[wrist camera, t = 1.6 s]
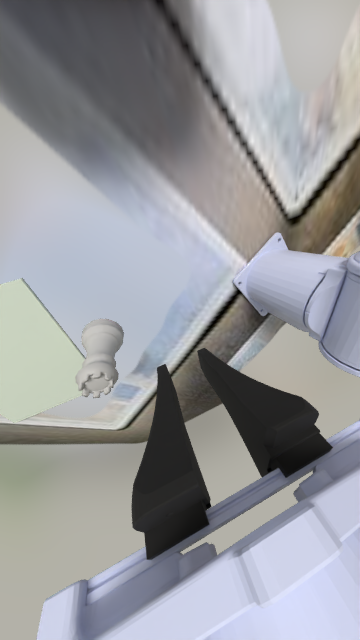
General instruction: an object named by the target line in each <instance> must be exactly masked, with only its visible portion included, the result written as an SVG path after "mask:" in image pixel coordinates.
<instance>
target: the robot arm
mask: <svg viewBox="0 0 360 640" xmlns="http://www.w3.org/2000/svg"><path fill="white" fill-rule="evenodd" d="M278 239H279V240H278ZM239 282H240V283H239ZM233 283H234V284H235V286H236V287H237V288H238V289H239V290H240V291H241V293H242V294H243V295H244V296H245V297H246V298H247V300H248V301H249V302H250V303H251V304H252V305H253V307H254V308H255V309H256V310H257V311H258V312H259V314H260V315H262V316H265V315H266V314H267V313H268V312H269V313H271V314H272V315H274V316H276V317H278V318H279V319H281V320H283V321H285V322H287V323H288V324H290V325H292V326H294V327H296V328H297V329H299V330H302V331H305V332H309V336H311V337H312V338H314V339H316V340H318V341H319V349H320V352H321V353H322V354H323V356H324V357H325V358H326V359H327V360H328V361H330V362H331V363H332V364H333V365H335V366H336V367H338V368H340V369H342V370H343V371H345V372H347V373H350V374H352V375H355V376H357V377H360V251H359V252H357V253H355V254H353V255H351V256H350V257H349V258H344V257H336V256H328V255H320V254H313V253H305V252H297V251H289V250H288V248H287V246H286V244H285V242H284V240H283V238H282V236H281V234H280V233H275V234H274V235H273V236H272V237H271V238H270V239H269V241H268V242H267V243H266V244H265V245H264V246H263V247H262V248H261V249H260V251H259V252H258V253H257V254H256V255H255V256H254V257H253V258H252V259H251V261H250V262H249V263H248V264H247V265H246V266H245V267H244V268H243V270H242V271H241V272H240V273H239V274H238V275H237V276H236V277H235V278H234V280H233ZM238 283H239V284H238ZM197 352H198V356H199V361H200V365H201V369H202V370H203V372H204V374H205V376H206V378H207V380H208V381H209V383H210V384H211V386H212V387H213V389H214V390H215V392H216V393H217V395H218V396H219V398H220V399H221V401H222V402H223V404H224V406H225V407H226V409H227V411H228V413H229V414H230V416H231V418H232V420H233V422H234V424H235V425H236V427H237V429H238V431H239V433H240V435H241V437H242V439H243V441H244V443H245V445H246V447H247V449H248V451H249V452H250V455H251V457H252V458H253V461H254V462H255V465H256V467H257V469H258V471H259V473H260V475H261V476H262V478H260V479H259V480H257V481H255V482H254V483H252V484H250V485H249V486H247V487H245V488H243V489H242V490H240V491H239V492H237V493H235V494H233V495H232V496H230V497H228V498H226V499H225V500H223V501H221V502H220V503H218V504H216V505H215V506H213V507H211V504H210V497H209V494H208V491H207V488H206V485H205V482H204V480H203V477H202V474H201V471H200V468H199V465H198V462H197V459H196V457H195V454H194V451H193V448H192V445H191V442H190V439H189V436H188V433H187V431H186V427H185V424H184V420H183V416H182V412H181V409H180V405H179V401H178V397H177V393H176V390H175V387H174V385H173V382H172V379H171V377H170V374H169V372H168V369H167V367H166V364H164V365H162V366H160V367H158V368H157V373H158V385H157V397H156V405H155V412H154V417H153V422H152V426H151V431H150V435H149V438H148V442H147V445H146V449H145V452H144V455H143V458H142V462H141V464H140V467H139V470H138V473H137V476H136V478H135V481H134V485H133V494H132V521H133V522H132V524H133V528H134V529H135V530H137V531H140V532H144V533H145V545H146V546H145V547H143V548H142V549H140V550H138V551H137V552H135V553H133V554H132V555H130V556H128V557H126V558H125V559H123V560H121V561H120V562H118V563H116V564H114V565H113V566H111V567H109V568H108V569H106V570H105V571H103V572H101V573H99V574H98V575H96V576H94V577H92V578H91V579H89V580H80V581H78V582H75V583H73V584H71V585H69V586H68V587H66V588H64V589H63V590H61V591H59V592H57V593H56V594H54V595H52V596H50V597H49V598H47V599H46V600H45V602H44V605H43V609H42V614H41V619H40V624H39V629H38V634H37V639H36V640H360V420H359V421H357V422H355V423H354V424H352V425H350V426H349V427H347V428H345V429H343V430H342V431H340V432H338V433H337V434H335V435H333V436H332V437H330V438H328V439H327V440H325V439H324V437H323V436H322V435H321V434H320V433H319V432H320V430H319V429H318V428H317V427H316V426H315V425H314V424H315V422H316V420H317V418H318V416H319V413H318V411H317V410H316V409H315V408H314V407H313V406H312V405H311V404H310V403H308V402H307V401H306V400H305V399H303V398H302V397H299V396H296V395H293V394H290V393H287V392H284V391H281V390H278V389H275V388H273V387H270V386H268V385H265V384H263V383H261V382H258V381H256V380H254V379H252V378H250V377H248V376H246V375H244V374H242V373H240V372H239V371H237V370H235V369H234V368H232V367H230V366H229V365H227V364H226V363H224V362H223V361H221V360H220V359H218V358H217V357H216V356H214V355H213V354H212V353H211V352H209V351H208V350H207V349H206V348H203V349H200V350H198V351H197ZM311 471H313V474H312V475H311V476H309V477H308V478H307V479H306V480H304V481H303V482H302V483H300V484H299V487H298V488H297V490H295V491H294V496H295V497H296V499H297V500H298V503H297V504H296V505H294V506H292V507H290V508H289V509H287V510H286V511H284V512H282V513H281V514H279V515H278V516H276V517H275V518H273V519H271V520H270V521H268V522H267V523H265V524H264V525H262V526H261V527H259V528H258V529H256V530H254V531H253V532H251V533H250V534H248V535H247V536H245V537H244V538H243V539H241V540H239V541H238V542H236V543H235V544H233V545H232V546H230V547H229V548H228V549H226V550H225V551H223V552H222V553H220V554H219V555H217V553H216V549H215V546H214V545H213V544H208V543H207V542H206V543H204V544H202V545H200V546H198V547H196V548H195V549H193V550H191V551H189V552H187V553H186V554H184V555H183V554H182V553H180V552H181V551H183V550H184V549H186V548H188V547H189V546H191V545H192V544H194V543H196V542H197V541H199V540H201V539H202V538H204V537H205V536H207V535H209V534H210V533H212V532H214V531H215V530H217V529H218V528H220V527H222V526H223V525H225V524H227V523H228V522H230V521H231V520H233V519H235V518H236V517H238V516H240V515H241V514H243V513H244V512H246V511H248V510H249V509H251V508H253V507H254V506H256V505H257V504H259V503H261V502H262V501H264V500H266V499H267V498H269V497H270V496H272V495H274V494H275V493H277V492H278V491H280V490H282V489H283V488H285V487H286V486H288V485H290V484H291V483H293V482H295V481H296V480H298V479H300V478H301V477H303V476H304V475H306V474H308V473H309V472H311ZM210 507H211V508H210ZM207 509H208V510H207Z"/></svg>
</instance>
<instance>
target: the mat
mask: <svg viewBox="0 0 360 640" xmlns="http://www.w3.org/2000/svg"><path fill="white" fill-rule="evenodd" d="M85 359H86V358H85V357H84V355H83V354H82V353H81V352H80V350H79V349H78V348H77V347H76V345H75V344H74V343H73V341H72V340H71V339H70V338H69V337H68V335H67V334H66V333H65V331H64V330H63V329H62V328H61V326H60V325H59V324H58V323H57V321H56V320H55V319H54V317H53V316H52V315H51V314H50V312H49V311H48V310H47V309H46V307H45V306H44V305H43V303H42V302H41V301H40V300H39V298H38V297H37V296H36V295H35V293H34V292H33V291H32V290H31V288H30V287H29V286H28V284H27V283H26V282H25V281H24V279H23V278H21V279H18V280H14V281H11V282H7V283H4V284H0V415H2V416H3V417H5V418H7V419H8V420H10V421H12V422H13V423H17V422H19V421H21V420H24V419H26V418H29V417H31V416H34V415H36V414H38V413H41V412H43V411H45V410H48V409H50V408H53V407H55V406H58V405H60V404H63V403H65V402H67V401H70V400H72V399H75V398H77V397H79V396H82V391H83V390H82V391H78V385H77V383H76V379H75V376H76V375H77V373H78V371H79V370H81V369H82V363H83V362H84V360H85Z"/></svg>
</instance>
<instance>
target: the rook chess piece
mask: <svg viewBox="0 0 360 640" xmlns="http://www.w3.org/2000/svg"><path fill="white" fill-rule="evenodd" d="M123 335H124V332H123V330H122V328H121V326H120V325H119V324H118V323H116V322H114V321H112V320H109V319H98V320H94V321H91V322H90V323H89V324H87V325H86V326H85V328H84V330H83V332H82V345H83V347H84V348H85V350H86V352H87V357H86V359H85V360H84V362H83V363H82V369H81V370H79V371H78V373H77V375H76V376H75V379H76V383H77V385H78V391H82V390H83V391H82V395H83V396H85V397H88V395H89V393H94V396H93V398H99V397H100V393H101V392H104V394H105V395H107V394H108V393H110V391H111V388H113V385H114V384H115V383H116V381H117V380H118V372H117V370H116V369H115V367H116V361H115V360H114V356H115V353H116V352H117V350H119V348H120V347H121V345H122V343H123Z"/></svg>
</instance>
